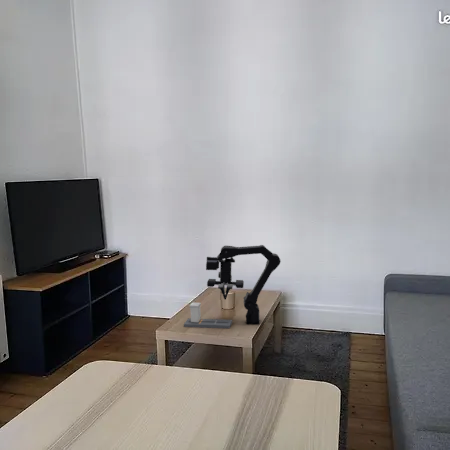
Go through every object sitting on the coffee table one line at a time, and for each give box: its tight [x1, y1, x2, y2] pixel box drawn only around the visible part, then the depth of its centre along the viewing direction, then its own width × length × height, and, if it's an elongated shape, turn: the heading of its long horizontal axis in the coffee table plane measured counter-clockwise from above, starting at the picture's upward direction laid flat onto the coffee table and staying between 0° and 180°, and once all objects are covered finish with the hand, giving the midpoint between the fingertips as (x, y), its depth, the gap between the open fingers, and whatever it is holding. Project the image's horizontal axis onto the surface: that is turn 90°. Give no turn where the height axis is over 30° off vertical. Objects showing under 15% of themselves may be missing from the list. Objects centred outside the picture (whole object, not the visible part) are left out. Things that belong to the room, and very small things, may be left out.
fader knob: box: [189, 302, 202, 322], centre depth 241 cm, size 5×6×9 cm
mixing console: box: [183, 317, 233, 329], centre depth 241 cm, size 24×9×2 cm, turn 80°
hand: (225, 299), depth 241 cm, fingers closed
